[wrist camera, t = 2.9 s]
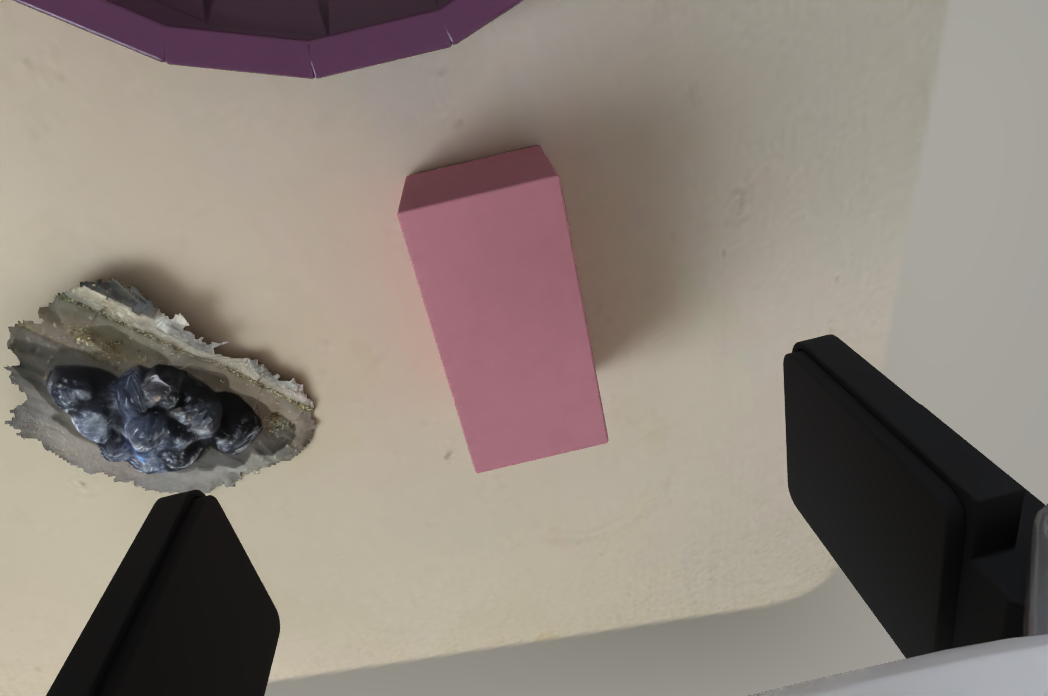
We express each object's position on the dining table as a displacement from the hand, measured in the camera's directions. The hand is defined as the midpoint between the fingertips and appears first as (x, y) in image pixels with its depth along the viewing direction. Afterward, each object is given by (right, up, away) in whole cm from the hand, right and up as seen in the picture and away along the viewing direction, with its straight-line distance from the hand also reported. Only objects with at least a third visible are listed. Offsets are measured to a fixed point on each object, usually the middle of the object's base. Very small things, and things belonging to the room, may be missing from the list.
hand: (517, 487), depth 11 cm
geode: (-10, +1, +8) cm, 13 cm away
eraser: (-1, +4, +8) cm, 9 cm away
